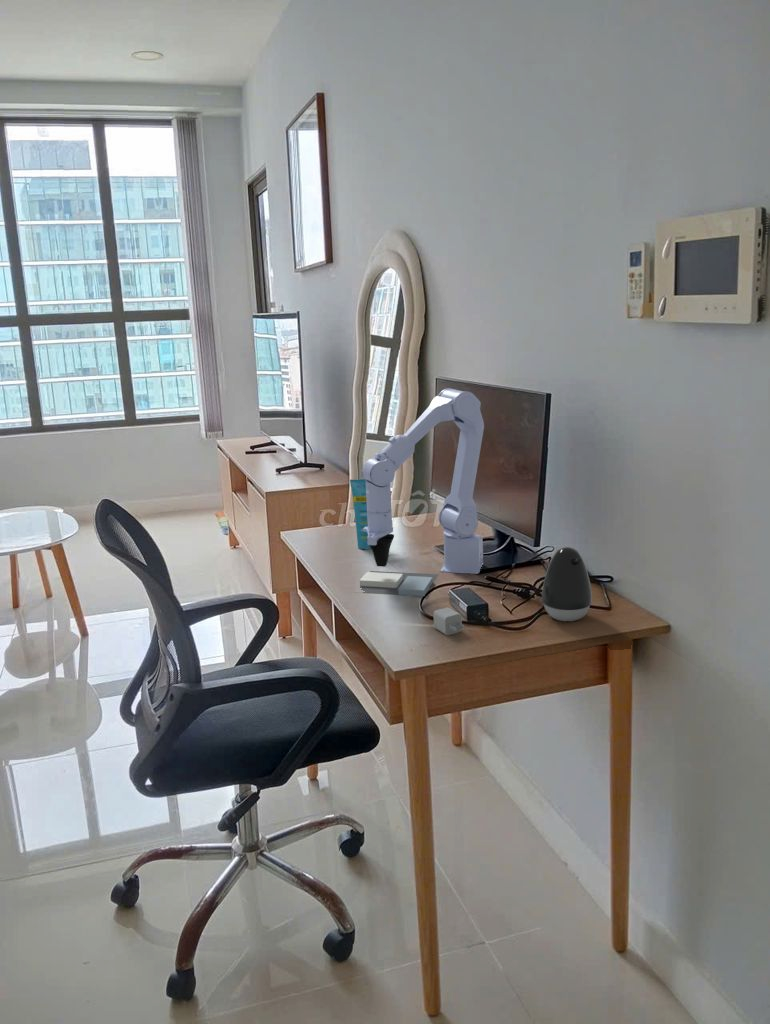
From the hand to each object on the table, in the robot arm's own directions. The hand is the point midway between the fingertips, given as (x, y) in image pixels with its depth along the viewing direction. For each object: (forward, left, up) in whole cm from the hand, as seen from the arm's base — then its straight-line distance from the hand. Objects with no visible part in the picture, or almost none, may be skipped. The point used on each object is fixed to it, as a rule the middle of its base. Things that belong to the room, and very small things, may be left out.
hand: (381, 565), depth 201 cm
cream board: (0, -2, -3) cm, 4 cm away
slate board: (-9, +3, -4) cm, 10 cm away
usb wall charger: (-22, +26, -5) cm, 34 cm away
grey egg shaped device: (-44, +14, -5) cm, 46 cm away
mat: (-4, 0, -4) cm, 6 cm away
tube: (+12, -27, -5) cm, 30 cm away
